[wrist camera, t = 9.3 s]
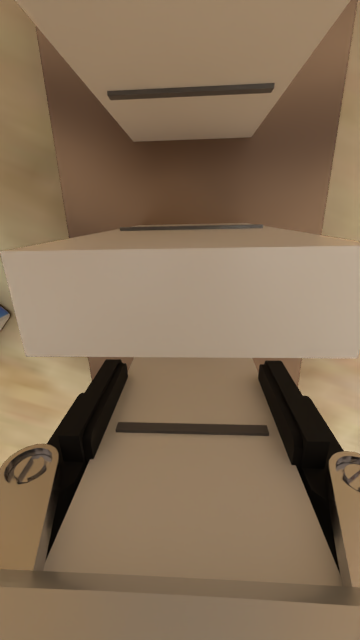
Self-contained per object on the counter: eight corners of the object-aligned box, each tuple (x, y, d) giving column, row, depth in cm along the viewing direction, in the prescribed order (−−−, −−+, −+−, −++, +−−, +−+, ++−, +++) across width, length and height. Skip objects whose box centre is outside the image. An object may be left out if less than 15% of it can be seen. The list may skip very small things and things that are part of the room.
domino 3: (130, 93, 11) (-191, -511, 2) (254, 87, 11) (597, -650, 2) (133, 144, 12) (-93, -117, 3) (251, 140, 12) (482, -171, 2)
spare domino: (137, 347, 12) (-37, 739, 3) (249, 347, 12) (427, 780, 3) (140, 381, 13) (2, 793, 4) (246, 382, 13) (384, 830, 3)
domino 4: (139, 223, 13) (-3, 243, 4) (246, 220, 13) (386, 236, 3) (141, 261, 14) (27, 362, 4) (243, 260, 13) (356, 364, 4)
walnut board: (-21, -448, 8) (-57, -557, 7) (418, -519, 7) (459, -653, 6) (100, 385, 18) (94, 396, 17) (289, 387, 17) (295, 399, 16)
